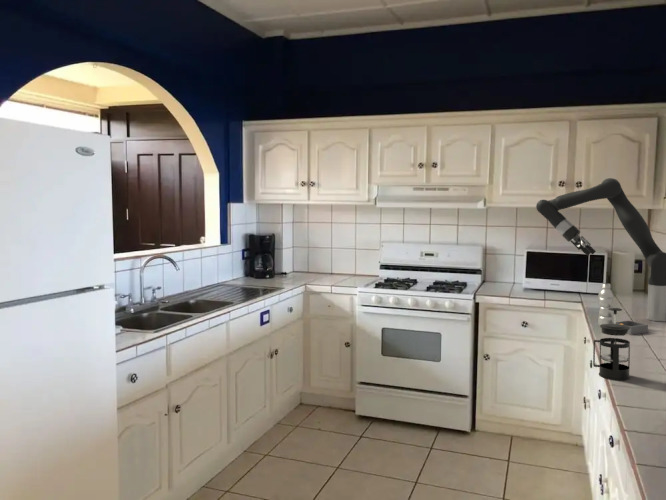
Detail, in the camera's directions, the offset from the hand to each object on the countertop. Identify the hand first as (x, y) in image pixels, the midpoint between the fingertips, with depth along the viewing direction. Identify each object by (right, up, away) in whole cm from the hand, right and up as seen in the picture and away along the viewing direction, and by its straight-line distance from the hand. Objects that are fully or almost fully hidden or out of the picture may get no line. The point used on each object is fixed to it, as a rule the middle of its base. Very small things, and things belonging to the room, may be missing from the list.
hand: (591, 253), depth 275 cm
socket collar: (+6, -35, -24) cm, 43 cm away
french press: (-33, -41, -87) cm, 101 cm away
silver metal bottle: (0, -34, -13) cm, 37 cm away
